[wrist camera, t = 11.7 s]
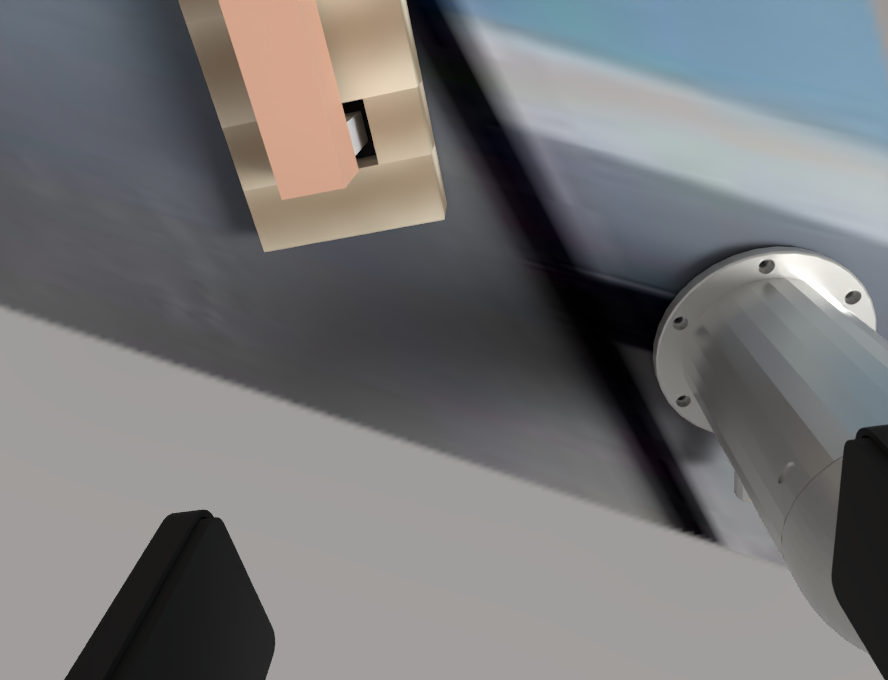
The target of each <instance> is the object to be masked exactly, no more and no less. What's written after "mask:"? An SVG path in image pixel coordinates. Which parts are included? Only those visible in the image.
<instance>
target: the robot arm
mask: <svg viewBox="0 0 888 680" xmlns="http://www.w3.org/2000/svg"><path fill="white" fill-rule="evenodd" d="M762 261H764V262H763V264H761V265H759V264H760V263H761V262H762ZM678 317H680V318H679V319H678V320H675V319H676V318H678ZM653 365H654V370H655V376H656V378H657V381H658V383H659V386H660V388H661V390H662V392H663V394H664V396H665V397H666V399H667V401H668V402H669V404H670V405H671V406H672V407H673V408H674V409H675V411H676V412H677V413H678V414H679V415H680V416H681V417H683V418H684V419H686V420H687V421H689V422H690V423H692V424H693V425H695V426H697V427H699V428H702V429H704V430H706V431H709V432H712V433H714V434H715V435H716V437H717V439H718V441H719V443H720V445H721V446H722V448H723V450H724V452H725V454H726V456H727V457H728V459H729V461H730V463H731V465H732V466H733V468H734V470H735V472H734V492H735V494H736V496H737V497H738V498H739V499H741V500H742V501H745V502H749V503H753V505H754V507H755V509H756V510H757V512H758V514H759V516H760V518H761V519H762V521H763V523H764V525H765V527H766V529H767V530H768V532H769V534H770V536H771V538H772V540H773V541H774V543H775V545H776V547H777V549H778V551H779V552H780V554H781V556H782V558H783V560H784V562H785V563H786V565H787V567H788V569H789V571H790V572H791V574H792V576H793V578H794V580H795V581H796V583H797V585H798V587H799V588H800V590H801V592H802V593H803V595H804V597H805V598H806V599H807V601H808V602H809V604H810V605H811V607H812V608H813V609H814V610H815V612H816V613H817V614H818V615H819V616H820V617H821V618H822V619H823V621H824V622H825V623H826V624H827V625H828V626H830V627H831V628H832V629H833V630H834V631H835V632H837V633H838V634H839V635H840V636H841V637H843V638H844V639H845V640H846V641H848V642H849V643H851V644H853V645H854V646H856V647H857V648H859V649H861V650H863V651H864V652H866V653H868V654H870V656H871V658H872V659H873V661H874V662H875V664H876V666H877V668H878V669H879V671H880V673H881V674H882V675H883V677H884V679H885V680H888V341H887V340H885V339H884V338H883V337H882V336H881V335H879V334H878V333H877V332H876V314H875V310H874V307H873V303H872V300H871V298H870V296H869V294H868V292H867V290H866V289H865V287H864V285H863V284H862V283H861V282H860V281H859V280H858V279H857V278H856V277H855V275H854V274H853V273H852V272H851V271H849V270H848V269H847V268H845V267H844V266H842V265H841V264H840V263H838V262H837V261H835V260H833V259H831V258H829V257H827V256H825V255H823V254H821V253H819V252H815V251H811V250H807V249H803V248H799V247H781V246H776V247H767V248H759V249H753V250H750V251H746V252H743V253H740V254H736V255H733V256H731V257H729V258H727V259H725V260H722V261H720V262H718V263H716V264H714V265H712V266H711V267H709V268H708V269H706V270H705V271H703V272H702V273H700V274H699V275H698V276H696V277H695V278H694V279H692V280H691V281H690V282H689V283H688V284H687V285H686V286H685V287H684V288H683V289H682V290H681V291H680V292H679V293H678V294H677V296H676V297H675V298H674V300H673V301H672V302H671V304H670V305H669V306H668V308H667V309H666V311H665V313H664V315H663V317H662V319H661V321H660V323H659V325H658V329H657V332H656V336H655V340H654V345H653ZM274 648H275V636H274V631H273V628H272V626H271V623H270V622H269V619H268V617H267V615H266V613H265V610H264V608H263V606H262V604H261V602H260V600H259V598H258V595H257V593H256V591H255V589H254V587H253V585H252V583H251V581H250V578H249V576H248V574H247V572H246V570H245V568H244V565H243V563H242V561H241V559H240V557H239V555H238V553H237V550H236V548H235V546H234V544H233V542H232V540H231V538H230V535H229V533H228V531H227V529H226V527H225V525H224V523H223V521H222V520H221V519H220V518H216V517H215V518H214V517H213V515H212V514H211V513H210V512H209V511H208V510H197V511H189V512H180V513H172V514H170V515H168V516H167V517H166V518H165V519H164V520H163V522H162V524H161V525H160V527H159V528H158V530H157V532H156V533H155V535H154V536H153V538H152V540H151V541H150V543H149V545H148V546H147V548H146V549H145V551H144V552H143V554H142V556H141V557H140V559H139V561H138V562H137V564H136V565H135V567H134V569H133V570H132V572H131V573H130V575H129V577H128V578H127V580H126V582H125V583H124V585H123V586H122V588H121V590H120V591H119V593H118V594H117V596H116V597H115V599H114V601H113V602H112V604H111V606H110V607H109V609H108V610H107V612H106V614H105V615H104V617H103V618H102V620H101V622H100V623H99V625H98V627H97V628H96V630H95V631H94V633H93V635H92V636H91V638H90V639H89V641H88V643H87V644H86V646H85V648H84V649H83V651H82V652H81V654H80V655H79V657H78V659H77V660H76V662H75V663H74V665H73V667H72V668H71V670H70V671H69V673H68V675H67V676H66V678H65V679H64V680H265V679H266V676H267V673H268V670H269V667H270V663H271V660H272V657H273V653H274Z"/></svg>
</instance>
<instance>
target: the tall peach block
mask: <svg viewBox="0 0 888 680" xmlns="http://www.w3.org/2000/svg"><path fill="white" fill-rule="evenodd" d="M219 4H220V7H221V10H222V13H223V16H224V19H225V22H226V26H227V29H228V32H229V35H230V38H231V41H232V45H233V48H234V51H235V54H236V57H237V60H238V63H239V67H240V70H241V73H242V76H243V79H244V82H245V86H246V89H247V92H248V95H249V98H250V101H251V104H252V108H253V111H254V114H255V117H256V120H257V123H258V127H259V130H260V133H261V136H262V139H263V142H264V145H265V149H266V152H267V155H268V158H269V161H270V164H271V168H272V171H273V174H274V177H275V180H276V183H277V186H278V190H279V193H280V196H281V199H282V200H285V199H291V198H296V197H301V196H306V195H312V194H317V193H322V192H327V191H332V190H338V189H343V188H346V187H347V185H348V184H349V183H350V182H351V180H352V179H353V178H354V176H355V175H356V174H357V172H358V171H359V168H358V165H357V161H356V157H355V156H356V155H357V154H358V152H359V151H360V150H361V149H362V148H363V147H364V145H365V144H366V143H367V142H368V138H367V134H366V130H365V126H364V122H363V118H362V114H361V111H357V112H352V113H347V114H344V110H343V106H342V102H341V98H340V95H339V91H338V87H337V83H336V79H335V75H334V71H333V67H332V63H331V59H330V56H329V52H328V48H327V44H326V40H325V36H324V32H323V28H322V24H321V21H320V17H319V13H318V9H317V5H316V1H315V0H219Z"/></svg>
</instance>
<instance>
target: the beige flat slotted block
mask: <svg viewBox="0 0 888 680" xmlns="http://www.w3.org/2000/svg"><path fill="white" fill-rule="evenodd" d="M178 1H179V4H180V7H181V10H182V13H183V16H184V19H185V22H186V25H187V28H188V31H189V34H190V36H191V39H192V42H193V45H194V48H195V51H196V54H197V57H198V60H199V63H200V66H201V69H202V71H203V74H204V77H205V80H206V83H207V86H208V89H209V92H210V95H211V98H212V101H213V104H214V106H215V109H216V112H217V115H218V118H219V121H220V124H221V127H222V130H223V133H224V136H225V139H226V142H227V144H228V147H229V150H230V153H231V156H232V159H233V162H234V165H235V168H236V171H237V174H238V177H239V179H240V182H241V185H242V188H243V191H244V194H245V197H246V200H247V203H248V206H249V209H250V212H251V214H252V217H253V220H254V223H255V226H256V229H257V232H258V235H259V238H260V241H261V244H262V247H263V250H264V252H268V251H274V250H279V249H285V248H290V247H296V246H302V245H307V244H313V243H318V242H324V241H329V240H335V239H340V238H346V237H351V236H357V235H362V234H368V233H373V232H379V231H384V230H390V229H395V228H401V227H407V226H412V225H418V224H423V223H429V222H434V221H440V220H444V218H445V213H446V207H447V201H446V196H445V192H444V187H443V182H442V177H441V172H440V167H439V162H438V157H437V152H436V147H435V142H434V137H433V132H432V127H431V122H430V117H429V112H428V107H427V102H426V97H425V92H424V87H423V82H422V77H421V72H420V67H419V62H418V57H417V52H416V47H415V42H414V37H413V32H412V27H411V22H410V17H409V13H408V8H407V3H406V0H315V1H316V5H317V9H318V13H319V17H320V21H321V24H322V28H323V32H324V36H325V40H326V44H327V48H328V52H329V56H330V59H331V63H332V67H333V71H334V75H335V79H336V83H337V87H338V91H339V95H340V98H341V102H342V103H345V102H350V101H354V100H359V99H363V102H364V106H365V110H366V114H367V118H368V122H369V127H370V131H371V135H372V139H373V143H374V147H375V151H376V155H373V156H368V157H363V158H358V159H356V161H357V165H358V168H359V171H358V172H357V174H356V175H355V176H354V178H353V179H352V180H351V182H350V183H349V184H348V185H347V187H346V188H343V189H338V190H332V191H327V192H322V193H317V194H312V195H306V196H301V197H296V198H291V199H285V200H282V199H281V196H280V193H279V190H278V186H277V183H276V180H275V177H274V174H273V171H272V168H271V164H270V161H269V158H268V155H267V152H266V149H265V145H264V142H263V139H262V136H261V133H260V130H259V127H258V123H257V120H256V117H255V114H254V111H253V108H252V104H251V101H250V98H249V95H248V92H247V89H246V86H245V82H244V79H243V76H242V73H241V70H240V67H239V63H238V60H237V57H236V54H235V51H234V48H233V45H232V41H231V38H230V35H229V32H228V29H227V26H226V22H225V19H224V16H223V13H222V10H221V7H220V4H219V0H178Z"/></svg>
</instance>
